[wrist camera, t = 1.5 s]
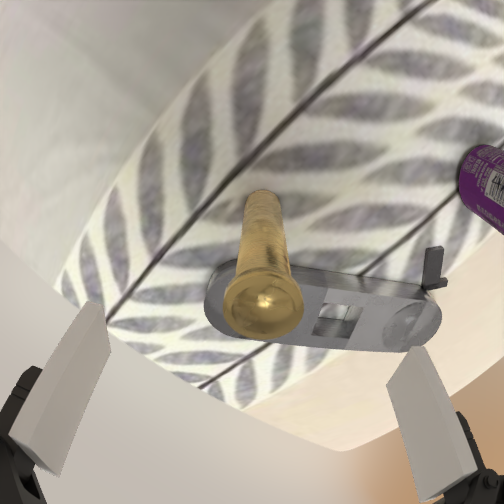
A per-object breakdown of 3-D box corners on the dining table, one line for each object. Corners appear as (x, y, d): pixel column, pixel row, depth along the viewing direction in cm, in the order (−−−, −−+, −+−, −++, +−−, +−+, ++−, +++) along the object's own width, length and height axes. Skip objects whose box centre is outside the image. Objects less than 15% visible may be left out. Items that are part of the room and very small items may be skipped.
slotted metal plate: (212, 252, 29) (207, 269, 26) (441, 288, 30) (452, 303, 28) (205, 313, 32) (201, 332, 30) (414, 336, 34) (422, 353, 31)
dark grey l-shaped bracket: (425, 248, 28) (428, 251, 28) (450, 244, 28) (453, 247, 27) (421, 288, 30) (423, 291, 30) (444, 283, 30) (446, 286, 29)
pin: (244, 181, 26) (227, 270, 13) (288, 189, 26) (313, 283, 14) (237, 222, 27) (218, 333, 15) (280, 229, 28) (293, 343, 15)
